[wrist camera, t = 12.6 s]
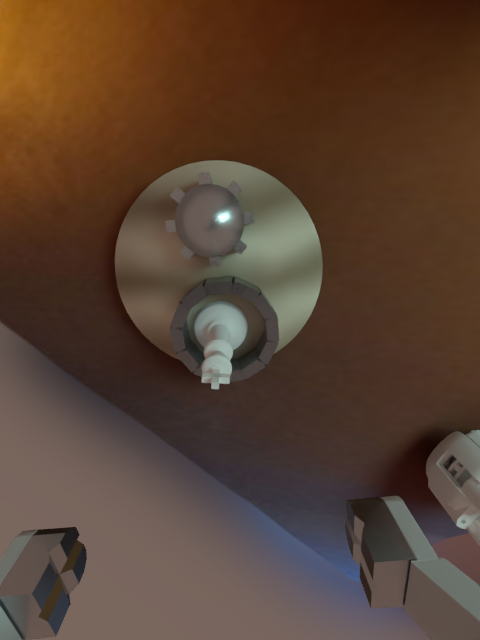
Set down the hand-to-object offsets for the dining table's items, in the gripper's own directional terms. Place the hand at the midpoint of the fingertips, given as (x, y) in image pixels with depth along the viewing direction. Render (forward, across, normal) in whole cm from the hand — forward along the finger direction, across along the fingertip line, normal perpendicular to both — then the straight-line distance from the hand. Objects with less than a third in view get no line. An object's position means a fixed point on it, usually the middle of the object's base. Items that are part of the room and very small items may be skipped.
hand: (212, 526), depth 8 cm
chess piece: (+18, +1, 0) cm, 19 cm away
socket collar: (+18, 0, 0) cm, 18 cm away
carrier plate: (+20, 0, -4) cm, 21 cm away
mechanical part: (+20, -26, +20) cm, 38 cm away
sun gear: (+18, 0, -9) cm, 20 cm away
